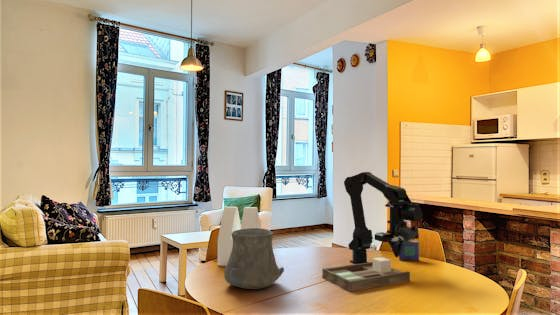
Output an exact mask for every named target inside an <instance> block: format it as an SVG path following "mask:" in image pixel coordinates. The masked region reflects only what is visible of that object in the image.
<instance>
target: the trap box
mask: <svg viewBox="0 0 560 315" xmlns="http://www.w3.org/2000/svg"><path fill="white" fill-rule="evenodd" d="M368 262H369V263H361V264H354V263H353V264H347V265H340V266H334V267H333V266H332V267H325V268H322V271H321V272H322V278H323V279H324V280H326V281H328V282H330V283H332V284H334V285H335V286H338V287H340V288H341V289H343V290H345V291H347V292H349V293H350V292H351V293H352V292H356V291H362V290H368V289H373V288H379V287H386V286H391V285H397V284H404V283H409V282H411V272H410V271H400V270H398V269H394V268H392V267H391V272H385V273H380V272H377V271H375V270H373V261H371V262H370V261H368Z"/></svg>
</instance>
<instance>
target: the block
mask: <svg viewBox="0 0 560 315" xmlns="http://www.w3.org/2000/svg"><path fill="white" fill-rule="evenodd" d="M372 262H373V270H375V271H377V272H380V273H385V272H391V268H392V260H391V259H388V258H386V257H384V256H383V257H373V258H372Z"/></svg>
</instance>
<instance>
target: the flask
mask: <svg viewBox="0 0 560 315" xmlns="http://www.w3.org/2000/svg"><path fill="white" fill-rule="evenodd" d="M398 259H399V261H401V262H419V261H420V242H419V241H418V240H412V239H411V240H408V242H406V243H404V244H403V246H402V249H401V252H400V254H399V257H398Z"/></svg>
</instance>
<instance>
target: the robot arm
mask: <svg viewBox="0 0 560 315" xmlns="http://www.w3.org/2000/svg"><path fill="white" fill-rule="evenodd" d="M343 184H344V188H345V192H346V193H347V195H348V196H349V198H350V204H351V211H352V216H353V223H354V229H353V232H352V240H351V241H350V242H349V243H348V249H349V250H350V251H352V260H349V262H350V263H352V264H353V265H354V264H361V263H369V262H370V261H368V253H367V250H370V248H371V246H372V243H373V240H374V241H378V242H382V243H388V244H389V246H390V248H391V250H392V253H393V254H394V257H395V258H399V254H400V252H401V249H402V246H403V244H404V243H406V242H408V240H411V241H415V240H418V239H419V238H420V237H419V227H418V226H412V227H411V226H408V223H407V221H410V222H416V223H419V222H421V221H422V219H423V217H424V216H423V214H424V213H423V211H422V208H421V207H420V204H419V203H413V202H412V200H411V199H410V197H409V195H408V194H407V190H406V189H405V188H403V187H401V186H397V185H395V184H394V185H393V184H390V183H388V182H386V181H385V180H383V179H381V178H379V177H378V176H376V175H374V174H373V173H372V172H370V171H363V172H360V173H358V174H355V175H352V176H347V177H346V178H345V179H344V182H343ZM366 184H368V185H369V186H370V187H372V188H375V189H376V190H377V191H378V192H380V193H382V194H383V197H384V198H385V199H386V200H387V201H388V202H387V203H386V204H385V205H384V207H387V208H389V220H387V224H389V229H388V230H387V233H386V232H383V231H382V232H375V234H374V237H373V231H372V229H369V228H368V227H367V225H366V224H367V223H366V218H365V211H364V207H363V206H364V205H363V199H362V193H363V190H364V185H366Z"/></svg>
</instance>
